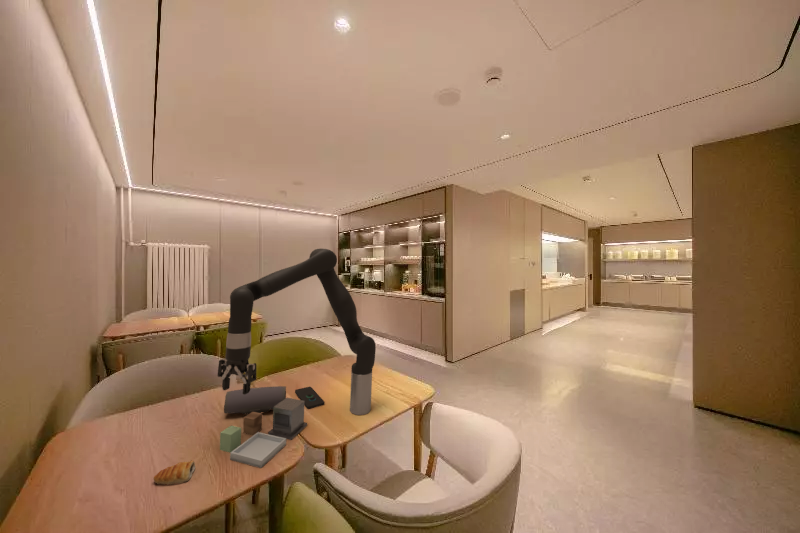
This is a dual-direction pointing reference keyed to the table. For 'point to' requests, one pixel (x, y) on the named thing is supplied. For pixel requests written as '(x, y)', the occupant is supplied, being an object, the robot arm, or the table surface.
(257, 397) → the bluetooth speaker
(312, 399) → the smart home device
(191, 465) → the pastry
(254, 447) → the tray
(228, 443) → the green block
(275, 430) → the housing
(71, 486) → the table surface
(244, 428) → the walnut block
